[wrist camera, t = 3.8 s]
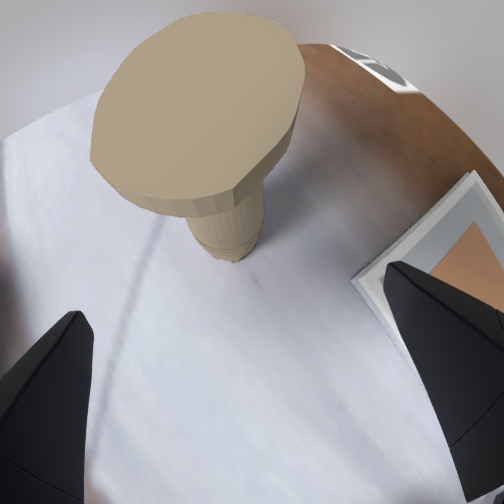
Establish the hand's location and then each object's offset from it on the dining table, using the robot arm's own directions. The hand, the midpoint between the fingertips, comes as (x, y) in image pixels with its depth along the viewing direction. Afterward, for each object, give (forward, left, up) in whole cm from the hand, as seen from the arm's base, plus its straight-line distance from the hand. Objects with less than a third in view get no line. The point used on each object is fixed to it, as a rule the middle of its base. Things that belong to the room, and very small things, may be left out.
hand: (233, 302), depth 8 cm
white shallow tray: (+15, -11, -12) cm, 22 cm away
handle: (+2, +4, -12) cm, 13 cm away
